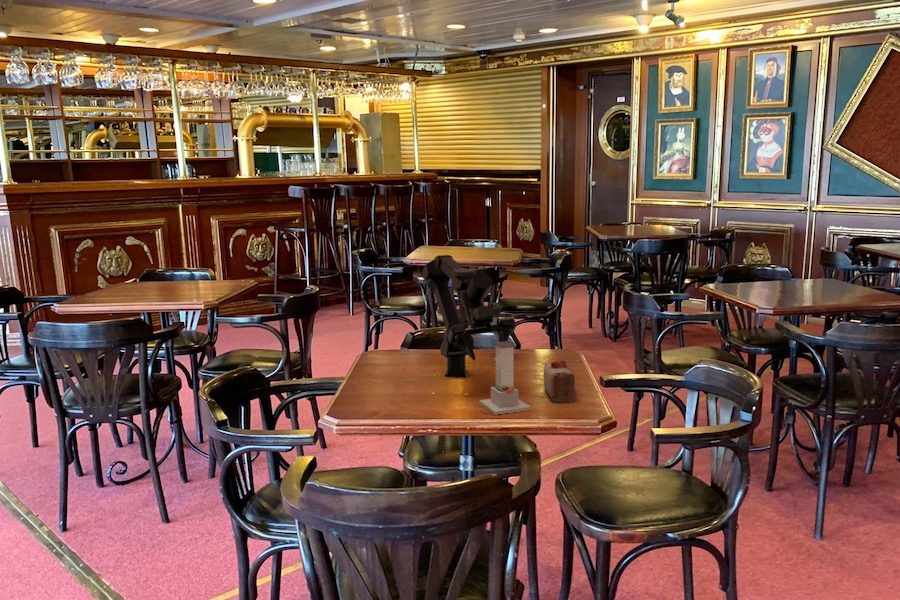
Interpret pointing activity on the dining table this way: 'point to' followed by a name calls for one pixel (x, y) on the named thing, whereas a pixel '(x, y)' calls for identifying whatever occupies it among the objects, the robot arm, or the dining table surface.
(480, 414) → the dining table surface
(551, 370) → the food item
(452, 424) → the dining table surface
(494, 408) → the stand base
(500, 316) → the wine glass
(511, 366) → the column
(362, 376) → the dining table surface
